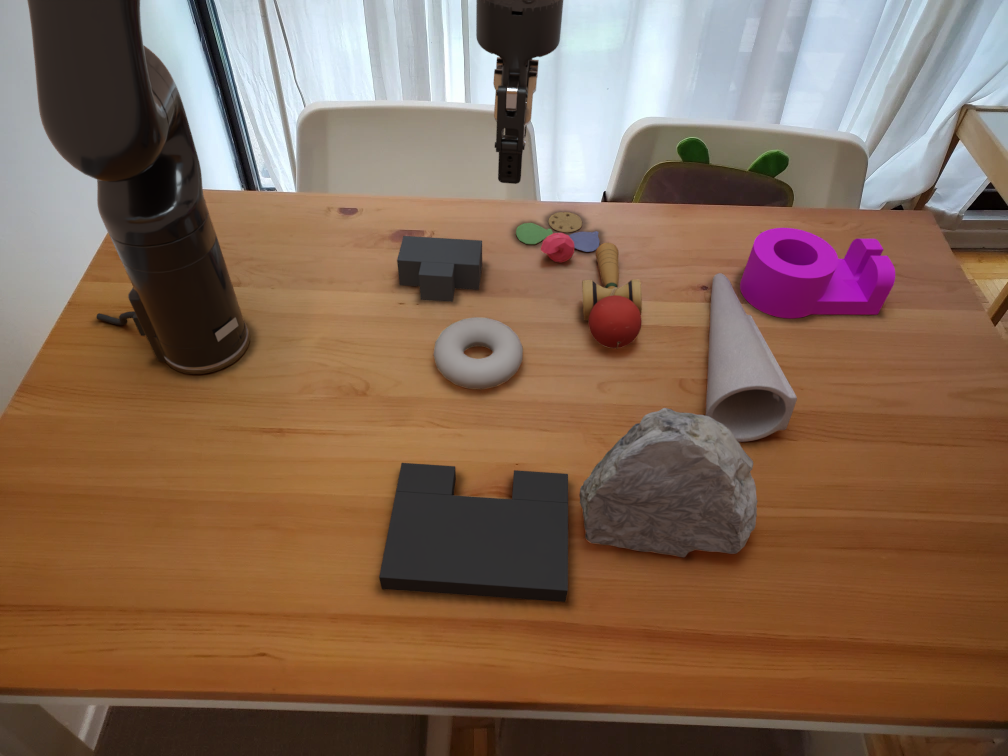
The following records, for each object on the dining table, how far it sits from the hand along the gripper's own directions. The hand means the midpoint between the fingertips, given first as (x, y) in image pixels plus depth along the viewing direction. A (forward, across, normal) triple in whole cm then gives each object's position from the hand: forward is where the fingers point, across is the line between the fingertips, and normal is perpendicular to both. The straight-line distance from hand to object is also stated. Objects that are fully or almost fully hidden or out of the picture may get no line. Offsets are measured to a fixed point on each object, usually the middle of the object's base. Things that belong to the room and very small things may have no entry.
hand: (512, 158), depth 73 cm
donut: (+20, +10, -2) cm, 23 cm away
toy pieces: (+20, -14, +6) cm, 25 cm away
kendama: (+20, -1, +12) cm, 24 cm away
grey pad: (+20, -4, -9) cm, 22 cm away
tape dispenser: (+20, -7, +37) cm, 43 cm away
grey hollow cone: (+20, +5, +25) cm, 32 cm away
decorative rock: (+20, +30, +17) cm, 40 cm away
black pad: (+20, +32, 0) cm, 38 cm away
